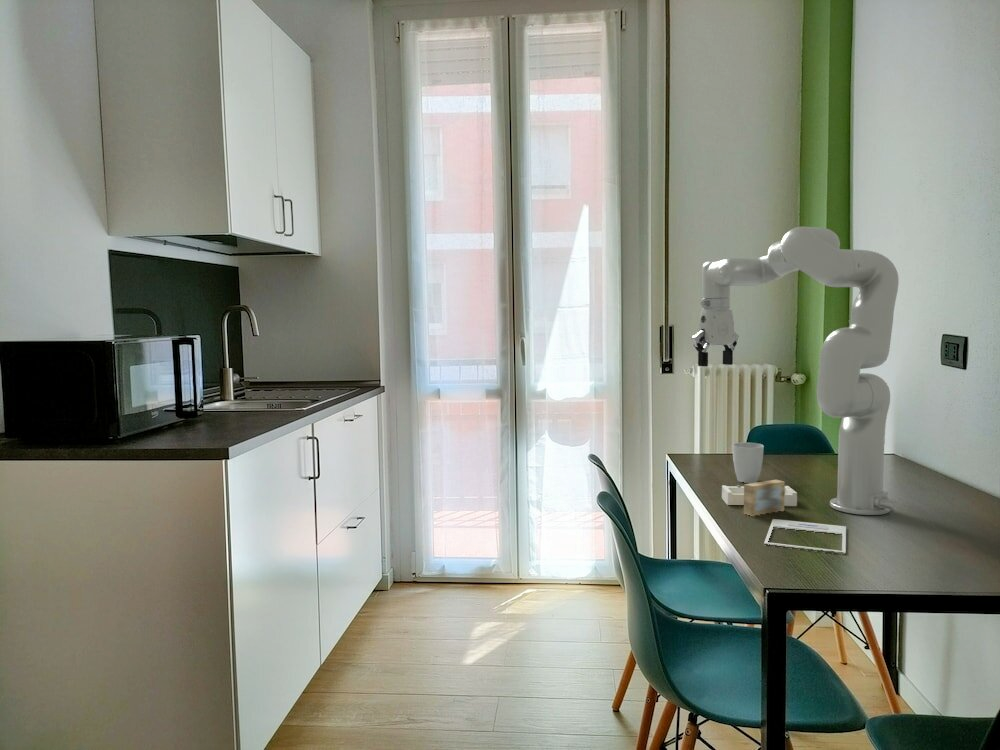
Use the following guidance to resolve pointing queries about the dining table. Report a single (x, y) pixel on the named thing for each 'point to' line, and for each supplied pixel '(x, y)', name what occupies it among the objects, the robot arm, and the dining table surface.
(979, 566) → the dining table surface
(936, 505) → the dining table surface
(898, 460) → the dining table surface
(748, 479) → the cup
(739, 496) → the white pegged tray
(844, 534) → the photo frame
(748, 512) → the oak frame
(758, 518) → the dining table surface
